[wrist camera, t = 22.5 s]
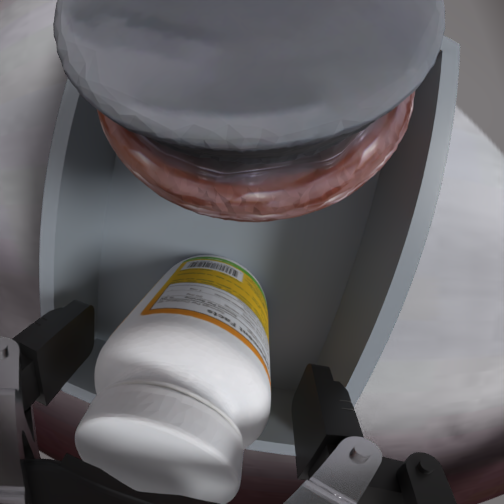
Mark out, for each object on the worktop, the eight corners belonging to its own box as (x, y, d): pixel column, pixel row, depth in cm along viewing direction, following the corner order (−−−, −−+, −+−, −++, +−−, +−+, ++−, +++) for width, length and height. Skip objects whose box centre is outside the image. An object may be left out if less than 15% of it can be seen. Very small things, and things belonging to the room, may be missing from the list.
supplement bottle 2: (197, 368, 16) (149, 526, 6) (137, 285, 15) (16, 413, 5) (288, 325, 15) (312, 503, 5) (230, 230, 14) (165, 350, 4)
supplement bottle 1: (316, 205, 13) (490, 322, 2) (182, 187, 13) (-38, 244, 2) (333, 77, 12) (473, -91, 1) (201, 60, 12) (81, -122, 1)
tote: (408, 75, 12) (460, 44, 7) (310, 395, 17) (322, 457, 12) (151, 16, 12) (113, -30, 7) (91, 338, 16) (49, 384, 12)
